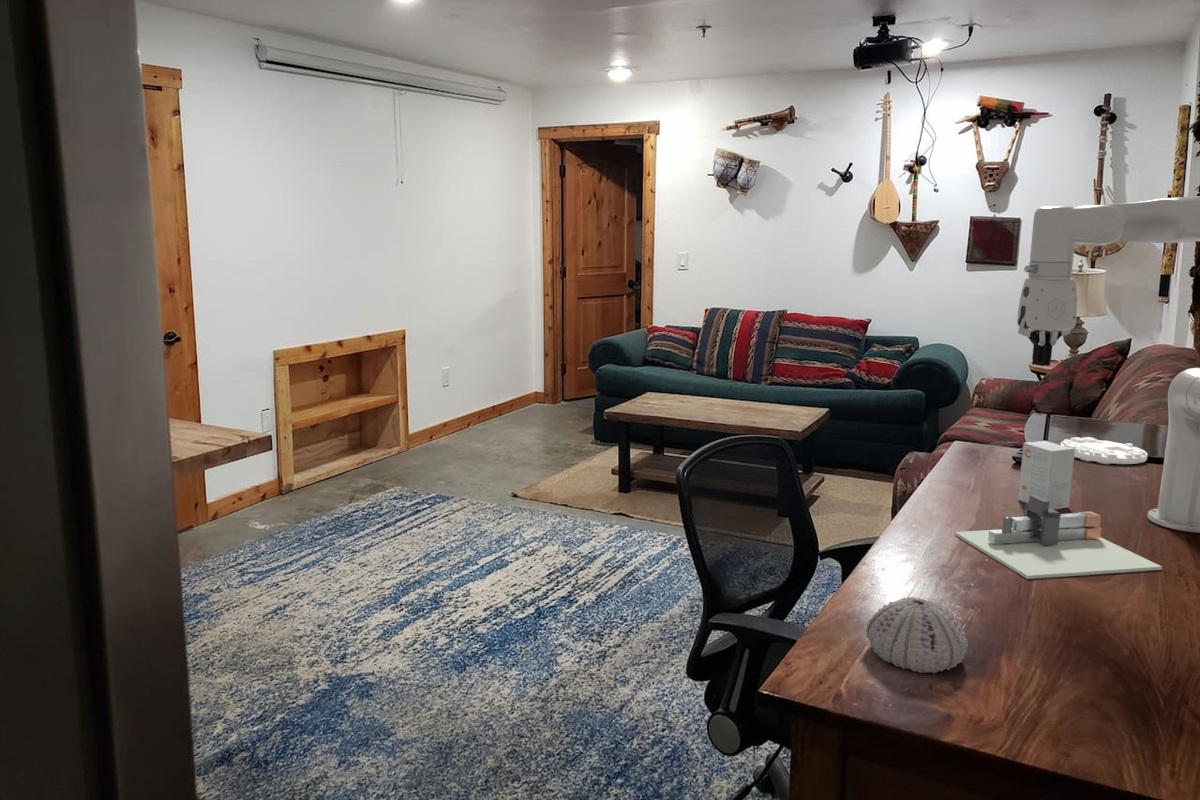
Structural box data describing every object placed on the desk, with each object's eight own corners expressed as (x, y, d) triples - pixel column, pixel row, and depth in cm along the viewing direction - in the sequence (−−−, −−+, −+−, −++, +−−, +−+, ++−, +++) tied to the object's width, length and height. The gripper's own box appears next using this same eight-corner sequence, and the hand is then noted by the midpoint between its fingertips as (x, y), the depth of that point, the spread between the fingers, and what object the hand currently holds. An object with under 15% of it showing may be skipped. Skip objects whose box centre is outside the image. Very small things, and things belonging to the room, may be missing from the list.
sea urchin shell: (980, 654, 124) (986, 600, 123) (944, 691, 114) (949, 633, 113) (889, 625, 133) (893, 575, 131) (848, 658, 123) (852, 603, 121)
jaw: (1090, 521, 170) (1091, 511, 170) (1100, 525, 168) (1101, 515, 168) (1008, 527, 167) (1009, 516, 167) (1017, 531, 164) (1018, 521, 164)
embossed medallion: (1163, 467, 223) (1164, 456, 222) (1084, 466, 223) (1085, 455, 223) (1118, 447, 243) (1119, 437, 242) (1046, 446, 243) (1047, 436, 242)
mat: (1074, 527, 176) (1074, 525, 176) (1161, 569, 155) (1161, 566, 155) (954, 534, 172) (954, 532, 172) (1027, 579, 151) (1027, 575, 150)
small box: (1069, 508, 189) (1076, 448, 186) (1046, 511, 187) (1053, 451, 184) (1039, 497, 196) (1045, 440, 194) (1016, 500, 194) (1022, 442, 192)
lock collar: (1036, 533, 170) (1040, 493, 169) (1057, 544, 164) (1061, 502, 163) (1022, 534, 170) (1026, 493, 168) (1042, 545, 164) (1047, 503, 162)
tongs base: (1090, 538, 171) (1093, 510, 170) (1100, 542, 168) (1103, 515, 167) (986, 544, 167) (989, 516, 166) (994, 549, 164) (997, 521, 163)
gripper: (1028, 272, 167) (1019, 369, 171) (1098, 272, 170) (1087, 366, 173) (1003, 270, 174) (995, 363, 178) (1070, 270, 177) (1061, 361, 181)
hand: (1041, 364), depth 176 cm, fingers closed
